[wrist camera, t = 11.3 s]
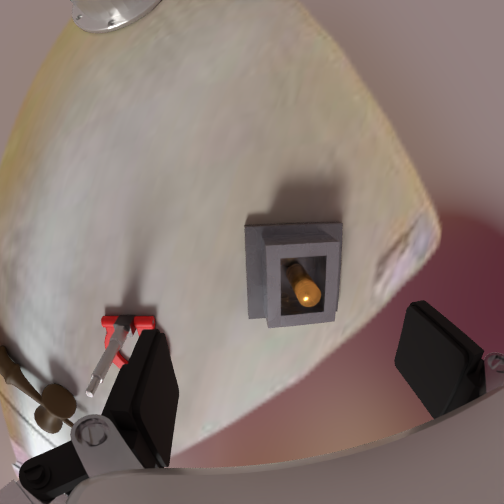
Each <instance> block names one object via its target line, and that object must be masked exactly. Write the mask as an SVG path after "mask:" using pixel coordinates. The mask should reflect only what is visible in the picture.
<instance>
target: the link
mask: <svg viewBox="0 0 504 504" xmlns="http://www.w3.org/2000/svg"><path fill="white" fill-rule="evenodd" d="M261 238H262V266H263V296H264V312H265V316H266V320H267V325H268V328H275V327H286V326H296V325H306V324H315V323H324V322H332V321H335V312H336V300H337V285H338V268H339V245H340V242H339V241H338V240H336V239H335V238H333V237H332V236H330V235H329V234H327V233H305V234H286V235H267V236H261ZM311 256H314V283H315V284H316V285H317V287H318V288H319V289H320V291H321V298H320V301H319V302H318V303H317V304H316V305H314V306H312V307H305V306H303V305H301V304H300V302H299V300H298V298H297V297H286V298H281V271H280V258H296V257H311Z"/></svg>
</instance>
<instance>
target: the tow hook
mask: <svg viewBox="0 0 504 504" xmlns="http://www.w3.org/2000/svg"><path fill="white" fill-rule="evenodd" d="M101 323H102V326H103V327H106V330H107V335H106V337H105V349H106V350H105V352H104V354H103V355H102V357H101V359H100V361H99V362H98V364H97V366H96V368H95V370H94V371H93V373H92V375H91V378H92V380H91V382H90V384H89V386H88V388H87V390H86V392H85V393H86V395H87V396H89V397H93V396H94V393H95V391H96V389H97V387H98V385H99V383H102V382H103V380H104V378H105V376H106V374H107V372H108V370H109V368H110V366H111V364H112V362H113V363H114V364H115V365H116V366H117V367H118V368H120V369H121V367H122V365H124V364H128V361H127V360H125V359H124V358H123V357H122V356H121V354H120V353H119V351H118V350H119V349H121V348H122V346H123V344H124V342H125V340H126V338H127V337H132V336H133V335H134V333H135V331H136V329H137V330H138V334H139V336H140V334H141V332H142V330H143V329H155V318H154V316H135V315H119V316H102V319H101Z"/></svg>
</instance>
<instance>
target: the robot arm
mask: <svg viewBox="0 0 504 504" xmlns="http://www.w3.org/2000/svg"><path fill="white" fill-rule="evenodd" d="M70 1H71V2H73V9H72V18H73V20H74V22H75V24H76V25H77V26H78V27H80V28H81V29H82V30H84V31H87V32H90V33H106V32H110V31H115V30H117V29H120V28H123V27H125V26H127V25H129V24H132V23H134V22H135V21H137V20H139V19H140V18H142V17H143V16H145V15H146V14H147V13H149V12H150V11H151V10H152V9H153V8H154V7H155V6H156V5H158V4H159V2H160V1H161V0H70ZM483 353H484V350H483V349H482V348H481V347H479V346H478V345H477V344H476V343H475V342H474V341H473V340H471V339H470V338H469V337H468V336H467V335H466V334H465V333H463V332H462V331H461V330H460V329H459V328H457V327H456V326H455V325H454V324H453V323H452V322H450V321H449V320H448V319H447V318H446V317H444V316H443V315H442V314H441V313H439V312H438V311H437V310H436V309H435V308H433V307H432V306H431V305H430V304H428V303H427V302H426V301H424V300H423V301H417V302H412V303H411V304H410V306H409V307H408V308H407V310H406V315H405V319H404V324H403V329H402V333H401V337H400V341H399V345H398V349H397V352H396V356H395V366H396V368H397V369H398V370H399V372H400V373H401V374H402V376H403V377H404V379H405V380H406V381H407V382H408V384H409V385H410V387H411V388H412V389H413V391H414V392H415V393H416V395H417V396H418V398H419V399H420V400H421V402H422V403H423V405H424V406H425V407H426V409H427V410H428V412H429V413H430V414H431V416H432V417H433V418H434V420H431V421H429V422H427V423H424V424H422V425H419V426H417V427H414V428H412V429H410V430H407V431H404V432H401V433H398V434H395V435H393V436H390V437H387V438H384V439H381V440H378V441H374V442H371V443H368V444H364V445H361V446H357V447H353V448H350V449H346V450H342V451H338V452H334V453H330V454H324V455H320V456H315V457H310V458H304V459H299V460H293V461H286V462H280V463H271V464H263V465H252V466H239V467H224V468H164V467H168V466H169V463H170V455H171V447H172V440H173V432H174V425H175V418H176V412H177V405H178V399H179V388H178V384H177V380H176V377H175V373H174V369H173V365H172V361H171V357H170V353H169V349H168V345H167V341H166V337H165V334H164V333H160V331H159V330H158V329H143V330H142V332H141V334H140V336H139V338H138V341H137V343H136V345H135V348H134V350H133V352H132V355H131V357H130V359H129V362H128V364H124V365H122V367H121V369H120V371H119V373H118V376H117V378H116V380H115V383H114V385H113V387H112V390H111V392H110V395H109V397H108V399H107V402H106V404H105V407H104V409H103V412H102V414H101V415H98V414H96V415H88V416H84V417H82V418H81V419H79V420H78V421H77V422H76V423H75V424H74V425H73V427H72V429H71V434H70V436H71V441H69V442H67V443H65V444H62V445H60V446H58V447H56V448H54V449H52V450H49V451H47V452H45V453H43V454H40V455H38V456H36V457H33V458H31V459H29V460H27V461H26V462H25V463H24V464H23V465H22V466H21V468H20V471H19V481H17V482H15V481H14V480H12V481H11V482H10V483H9V484H7V485H6V486H5V487H4V488H2V489H1V490H0V504H504V355H503V354H500V353H490V354H488V355H487V356H486V357H485V359H484V360H482V359H481V358H482V355H483Z"/></svg>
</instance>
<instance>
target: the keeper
mask: <svg viewBox="0 0 504 504" xmlns="http://www.w3.org/2000/svg"><path fill="white" fill-rule="evenodd" d="M342 224H343V223H341V222H315V223H286V224H262V225H244V227H245V251H246V273H247V296H248V316H249V319H256V318H266V316H265V312H264V296H263V266H262V238H261V236H267V235H286V234H305V233H327V234H329V235H330V236H332V237H333V238H335V239H336V240H338V241H339V242H340V245H339V268H338V285H337V300H336V311H337V308H338V297H339V284H340V269H341V251H342ZM280 271H281V298H286V297H297V298H298V300H299V302H300V304H301V305H303V306H305V307H312V306H314V305H316V304H317V303H318V302H319V301H320V298H321V291H320V289H319V288H318V287H317V285H316V284H315V283H314V256H311V257H296V258H280Z"/></svg>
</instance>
